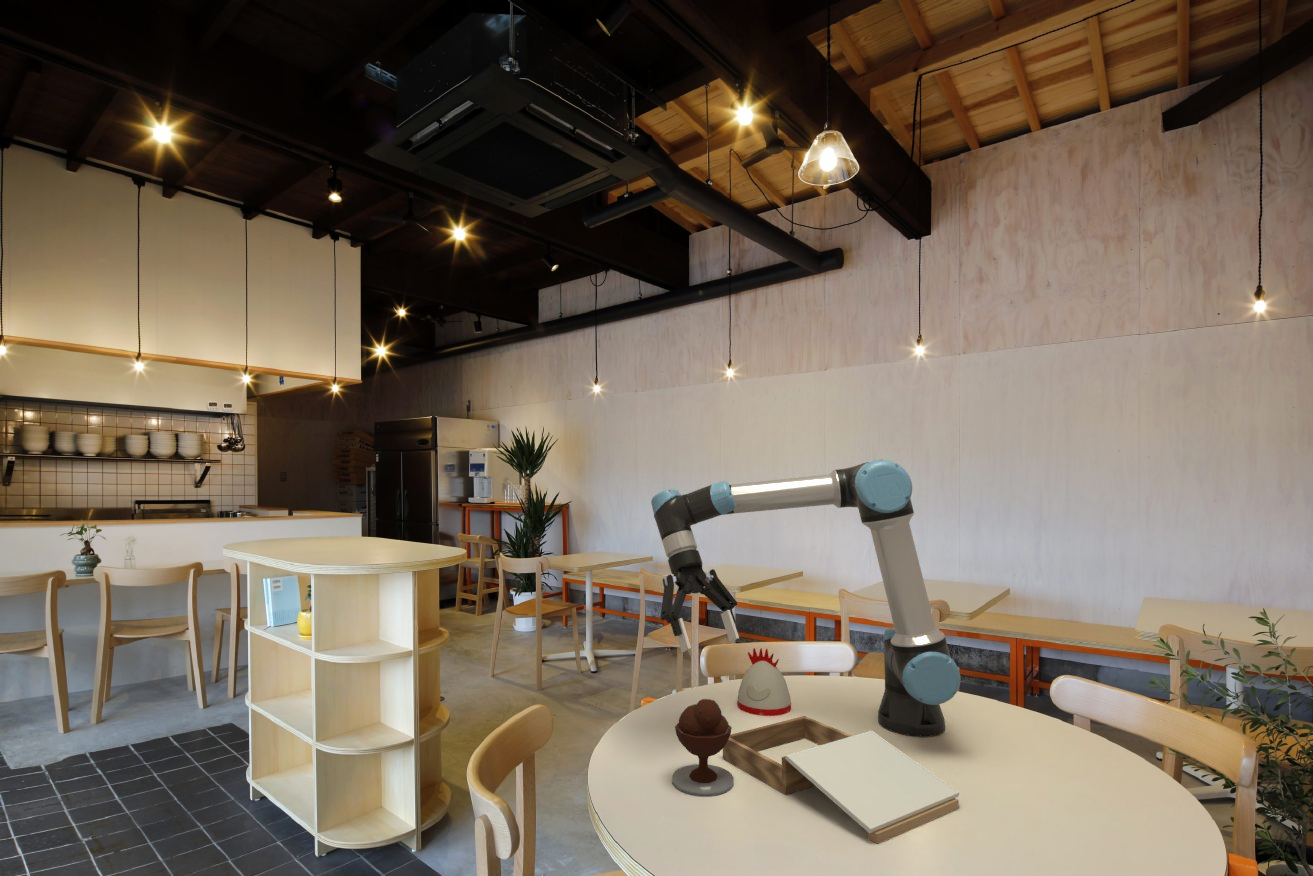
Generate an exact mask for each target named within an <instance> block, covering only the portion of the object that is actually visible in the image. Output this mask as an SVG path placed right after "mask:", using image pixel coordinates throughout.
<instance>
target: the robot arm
mask: <svg viewBox="0 0 1313 876" xmlns="http://www.w3.org/2000/svg"><path fill="white" fill-rule="evenodd" d="M912 493H913V483H912V479H911V477H910V475H909V473H908V472H907V470H906V469H905V468H904V467H903V466H901V465H900V464H898V463H897V462H894V461H891V460H887V459H874V460H870V461H867V462H862V463H860V464H857V465H854V466H850V467H846V468H840V469H839V468H838V469H833V470H832V471H831V472H830V473H829V474H823V475H822V474H820V475H812V476H802V477H792V478H781V479H773V480H772V479H771V480H760V481H752V482H743V483H733V484H729V483H728V481H726V480H722V481H718V482H715V483H712V484H710V485H707V486H705V487H701V488H699V489H695V490H694V491H691V492H688V493H686V494H681V493H680V492H679V490H677V489H672V488H670V489H667V490H665V489H664V490H662V491H659V492H657V494H655V495H653V497H652V498H651V502H650V504H651V507H652V512H653V518H654V520H655V523H656V526H657V531H658V533H659V535H660V539H661V543H662V546H663V549H664V553H665V556H666V557H667V558H668V560H667V562H668V566H669V569H670V573H671V574H668V575H667V576H665V577H664V578H663V579H662V585H663V595H662V602H661V610H660V620H661V621H666V623H667V624H670V626H671V629H672V632H673V633H672V634H673V636H674V637H676V638H677V640H678V641H677V642H678V645H679V648H680V651H681V653H684V652H687V651H688V650H690V649H692V645H691V643H690V639H689V636H688V634H687V633H688V632H687V630H686V626H685V624H684V623H685V622H684V619H683V617H680V614H681V611H682V608H683V606H684V603H685V599H686V597H687V595H688V596H689V595H691V594H698V593H699V594H700V595H703V596H705V597H706V598H707V599H708V600H709V601H710V602H712V604H714V605H715V606H716V607H717V608H718V609H719V610H721V611H722V612H721V613H720V616H721V620H722V623H723V625H724V630H725V632H726V635H727V638H728V641H729V642H730V643H731V642H734V641H736V640H738V639H740V635H739V632H738V630H737V628H736V624H737V622H736V621H737V620H736V619H735V615H734V612H733V609H734V608H735V607H736V606H738V602H737V600H736V599H735V597H734V596H733V595H732V593H731V592H730V591H729V590H728V588H727V587H726V586H725V585H724V584H723V582H722V581H721V580H720V578H719V577H718V575H717V572H716V570H715V569H710V570H709V571H706V572H705V570H704V569H703V560H702V557H701V555H700V551H699V550H698V545H697V542H696V538H695V536H694V533H693V530H692V527H691V526H694V525H696V524H698V523H702V522H705V521H708V520H711V519H714V518H716V517H719V516H722V515H723V516H725V515H732V514H742V513H744V514H745V513H756V512H764V511H776V510H777V511H778V510H786V509H798V508H809V507H818V506H829V505H830V506H831V505H833V506H835V507H836V508H838V509H840V508H841V509H842V508H857V509H858V512H859V513H858V514H859V517H860V521H861V524H862V525H864V526H865V527H867V528H868V529H869V530H870V533H871V537H872V541H873V545H874V550H875V554H876V558H877V562H878V563H877V564H878V565H879V570H880V573H881V578H882V583H883V587H884V590H885V594H886V600H887V603H888V607H889V611H890V612H889V613H890V615H891V619H892V624H893V627H888V628H886V629H885V630H884V632H883V640H882V642H883V655H884V656H883V657H884V660H883V661H884V662H883V663H884V665H883V667H884V692H883V695H882V698H881V702H880V704H879V708H878V710H877V722H878V723H879V725H880V726H881V727H882V728H884V729H886V730H888V731H891V732H893V733H897V734H901V735H905V736H911V737H926V738H927V737H935V736H940V735H942V734H944V732H945V731H946V720H945V717H944V714H943V711H942V708H941V705H942V704H945V703H946V702H947V703H948V702H949V701H950V700H952V699H953V698H954V696H955V695H956V694H957V693H958V691H959V688H960V686H961V678H962V677H961V673H960V670H959V667H958V666H957V663H956V662H955V660H954V659H953V658H952V657H951V654H950V650H949V647H948V643H947V639H946V636H945V633H944V632H943V631H941V630H939V629H938V628H937V627H936V625H935V621H934V618H933V613H932V609H931V606H930V600H929V597H928V593H927V589H926V585H925V580H924V577H923V572H922V570H921V569H922V568H921V565H920V561H919V557H918V553H917V549H916V545H915V541H914V537H913V532H912V529H911V525H910V524H911V523H910V521H911V519H912V518H913V516H914V514H915V511H914V508H913V504H912V499H911V498H912ZM675 585H676V586H677V591H676V593H675V598H674V591H675ZM679 617H680V618H679Z"/></svg>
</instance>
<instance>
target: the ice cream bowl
mask: <svg viewBox="0 0 1313 876" xmlns="http://www.w3.org/2000/svg"><path fill="white" fill-rule="evenodd" d="M674 729H675V730H674V731H675V735H676V736H677V739H678V741H679V743H680V744H681V745H682V747H684V748H685V749H686V750H687V752H688V753H690V754H692V755H693V756H697V758H698V764H699V767H698V768H696V769H694V770H692V771H691V773H690V775H689V777H690V778H691V780H692V781H695V782H698V783H711V782H714V781H716V779H717V774H716V773H715V772H714V771H713V770H712V769H710V768H708V765H709V764H708V763H709V761H708V760H709V757H711V756H715V755H716V754H718V753H720V752H721V751H723V748H724V746H725V745H726V743H727V741H728V739H729V737H730V735H731V733H732V729H733V728H732V726H731V725H729V722H728V720H727V719H726V717H725V716H724V715H723V714H722V710H721V708H720V706H719V704H718V703H717V701H715V700H714V699H713V700H712V699H710V698H707V699H706V698H705V699H703V698H701V699H700V700H699V701H698V702H697V703H696V704H695V703H694V704H692V705H689V706H687V707H686V708H685V709H684V710H683V711H682V712H681V714H680V716H679V718H678V722H677V723H676V725H675V726H674Z"/></svg>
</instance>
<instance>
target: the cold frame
mask: <svg viewBox="0 0 1313 876" xmlns="http://www.w3.org/2000/svg"><path fill="white" fill-rule="evenodd" d="M851 736H853V735H851V734H849V733H846V732H844V731H841V730H839V729H837V728H834V727H832V726H830V725H828V724H825V723H823V722H820V721H818V720H815V719H813V718H811V717H809V716H806V715H803V716H799V717H798V716H797V717H796V718H791V719H787V720H783V721H780V722H779V721H778V722H774V723H771V724H767V725H763V726H759V727H755V728H752V729H747V730H744V731H740V732H736V733H732V734H730V737H729V739H728V741H727V743H726V745H725V746H724V748H723V749H722V759H723V760H725V761H726V762H729V763H730V764H732V765H734V767H736V768H739V769H740V770H742V771H744V773H745V772H746V773H747V774H749V775H750V776H752V777H754V778H756V779H757V780H760V782H763V783H764V784H766V785H768V786H770V787H771V788H773V789H775V790H776V791H778V792H780V794H781V793H782V794H784V795H785V796H788V795H790V794H792V793H796V792H798V791H802V790H805V789H808V788H811V787H814V786H815V785H814V784H813V783H812V782H811V781H809V780H808V779H807V778H806V777H805V776H804V775H803V774H802V773H800V772H799V771H798V770H797V769H796V768H795V767H794V766H792V765H791V764H790V763H789V762H788V761H787V760H786V755H784V756H782V757H781V763H779V762H777V761H776V760H773V759H771V758H770V757H768V756H766V755H764V754H762V753H760V751H764V750H767V749H771V748H774V747H778V746H782V745H785V744H789V743H793V742H796V741H800V740H804V739H806V740H808V741H810V742H811V743H815V744H817V745H818V746H820V745H823V744H827V743H830V742H834V741H837V740H841V739H844V738H847V737H851Z"/></svg>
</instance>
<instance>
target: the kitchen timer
mask: <svg viewBox="0 0 1313 876" xmlns="http://www.w3.org/2000/svg"><path fill="white" fill-rule="evenodd" d="M768 650H769V649H768V648H766V649H765V651H764V653H763V648H760V649H759V652H758V653H757V651H756V648H755V647H754V648H753V649H752V654H751V653H750V652H749V651H748V652H747V655H748V658H749V660H750V662H751V665H750V667H749V668H748V669H747V670H746V672H745V673H743V674H742V675H741V678H742V679H741V682H740V685H739V688H738V693H737V708H738V709H739V710H740V711H743V712H744V713H747V714H750V715H756V716H762V717H777V716H782V715H786V714H788V713H789V712H791V710H792V699H791V694H790V690H789V688H788V684H787V681H786V679H785V677H784V675H783V673H782V672H781V670H780V669H779V667H777V665H778V663H779V660H780V658H777V659H776V661H775V662H773V658H774V653H772V654H771V655H770V656H769V651H768ZM763 654H764V655H763Z"/></svg>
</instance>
